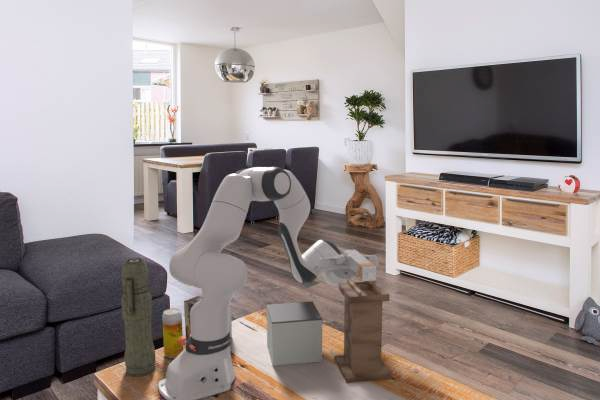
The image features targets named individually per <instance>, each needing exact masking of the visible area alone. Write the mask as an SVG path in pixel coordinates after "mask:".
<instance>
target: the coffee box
mask: <svg viewBox="0 0 600 400" xmlns="http://www.w3.org/2000/svg"><path fill="white" fill-rule="evenodd" d="M201 299H202V296H199V295H196V296H195V297H191V298H188V299H186V300H184V301H183V308H184V309H183V310H184V311H183V312H184V327H185V328H184V329H185V338H186V339H187V340H188V338H189V335H190V333H191V327H190V310H191V308H192V307H193V305H194V304H195V303H197V302H198V301H200V300H201Z"/></svg>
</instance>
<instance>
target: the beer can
mask: <svg viewBox="0 0 600 400" xmlns="http://www.w3.org/2000/svg"><path fill="white" fill-rule="evenodd" d="M182 317H183V315H182V312H181V310H180V309H179V308H168V309H165V310H164V311H163V314H162V317H161V318H162V332H163V333H162V335H163V337H162V338H163V352H164V356H166V358H169V359H175V358H176V357H177V356H178V355H179V354H180V353H181V352H182V351H183V350H184V345H182V344H181V343H179V339H180V337H182V336H183V335H184V334H183V318H182ZM183 337H184V336H183Z"/></svg>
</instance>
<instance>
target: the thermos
mask: <svg viewBox="0 0 600 400" xmlns="http://www.w3.org/2000/svg"><path fill="white" fill-rule="evenodd" d="M149 279H150V278H149V268H148V265H147V262H146V260H145V259H143V258H141V257H140V258H139V257H136V258H135V257H134V258H129V259H126V260H125V261H123V263H122V268H121V285H122V289H123V290H122V296H121V300H120V303H121V316H122V318H121V319H122V320H123V321H124V322H123V323H124V338H125V350H124V363H125V364H124V365H125V372H126V374H127V375H128V376H131V377H143V376H146V375H149V374H151V373H153V372H154V370H156V350H155V345H154V342H153V341H154V340H153V327H152V326H153V325H152V316H153V314H154V313H153V297H152V295H151V292H150V288H149V284H150V282H149V281H150V280H149Z"/></svg>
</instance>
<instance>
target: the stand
mask: <svg viewBox="0 0 600 400" xmlns="http://www.w3.org/2000/svg"><path fill="white" fill-rule="evenodd" d="M338 291H339V292H340V294H341V295H342V296H343V297H344V314H343V315H344V318H343V319H344V322H343V324H344V327H343V330H344V331H343V339H344V340H343V354H339V355H334V359H333V361H334V362H335V364H336V367H337V368H338V370H339V372H340V373H341V376H342V377H343V380H344V382H345V384H352V383H362V382H371V381H379V380H390V379H392V378H393V377H392V376H393V375H392V374H393V373H392V372H391V371H390V370H389V368H388V366H387V365H386V364H385V362H384V361H383V359H382V341H383V340H382V339H383V338H382V334H383V302H389V301H390V293H389V292H388V291H386V290H385V289H384V287H383V286H382V285H380V284H379V283H378V282H377V280H374V281H355V282H353V280H351V279H347V281H346V282H345V283H339V286H338Z"/></svg>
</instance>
